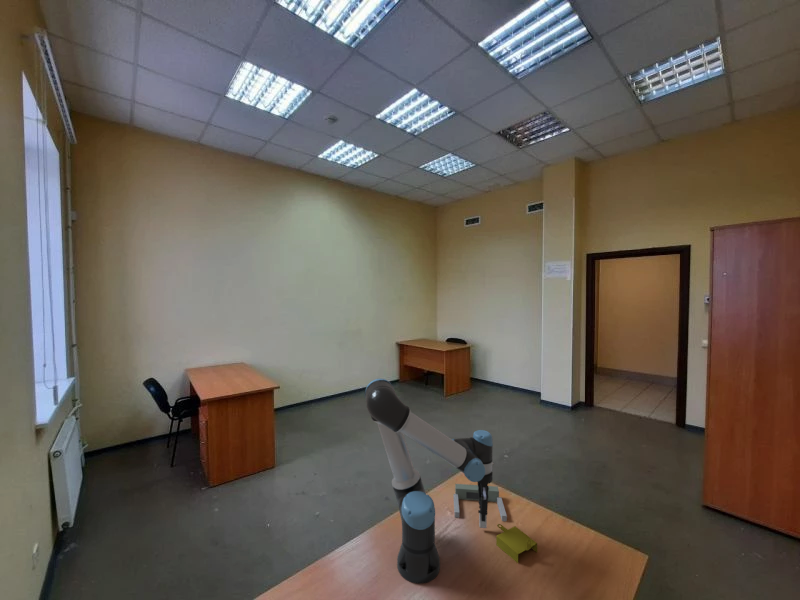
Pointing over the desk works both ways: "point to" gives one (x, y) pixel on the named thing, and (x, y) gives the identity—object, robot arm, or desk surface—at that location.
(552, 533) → the desk surface
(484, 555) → the desk surface
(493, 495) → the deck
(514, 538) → the bracket
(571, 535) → the desk surface
